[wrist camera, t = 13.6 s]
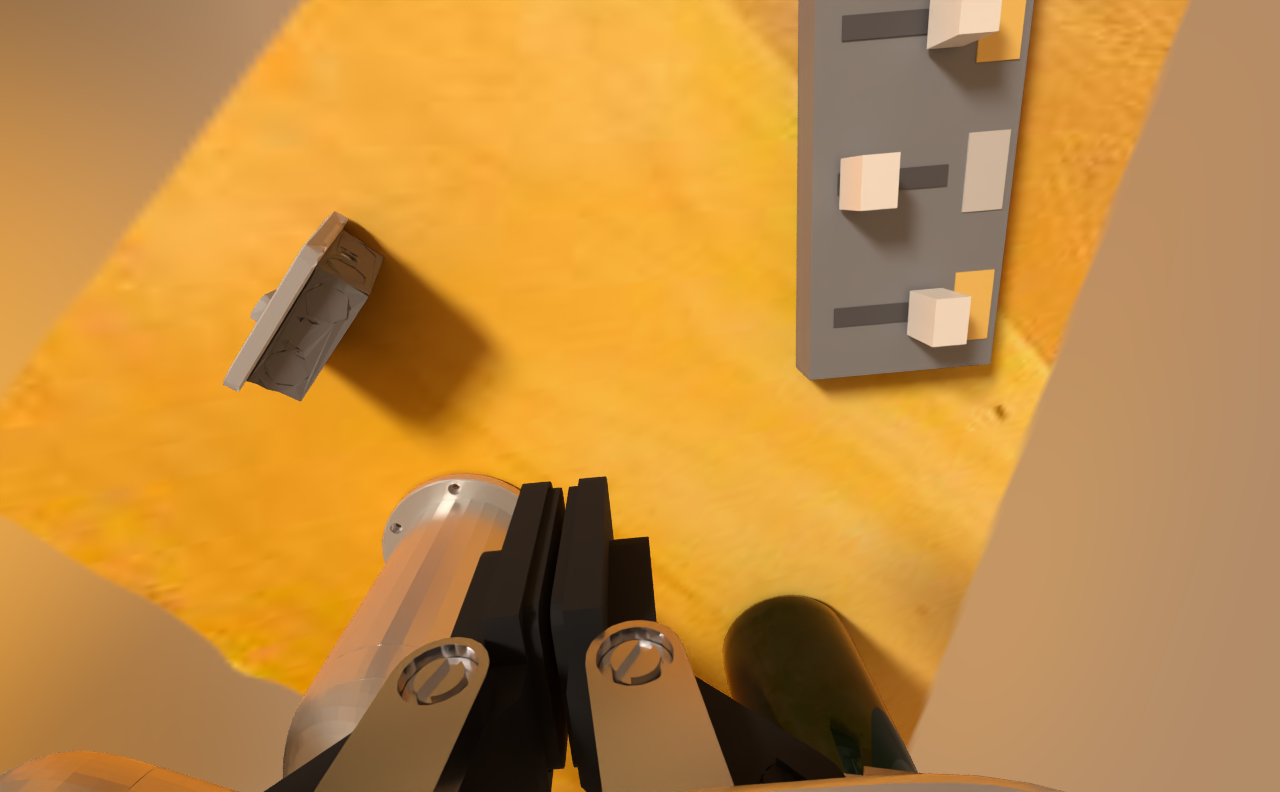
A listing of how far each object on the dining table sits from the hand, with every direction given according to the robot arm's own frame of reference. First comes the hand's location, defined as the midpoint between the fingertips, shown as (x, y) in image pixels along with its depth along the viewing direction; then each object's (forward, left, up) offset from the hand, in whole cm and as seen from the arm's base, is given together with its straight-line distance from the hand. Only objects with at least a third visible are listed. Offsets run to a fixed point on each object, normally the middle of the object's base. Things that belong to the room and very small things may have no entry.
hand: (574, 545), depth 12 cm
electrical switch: (+2, +17, -29) cm, 34 cm away
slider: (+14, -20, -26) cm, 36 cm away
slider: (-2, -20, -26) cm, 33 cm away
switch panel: (+6, -19, -29) cm, 35 cm away
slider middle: (+6, -16, -26) cm, 31 cm away
